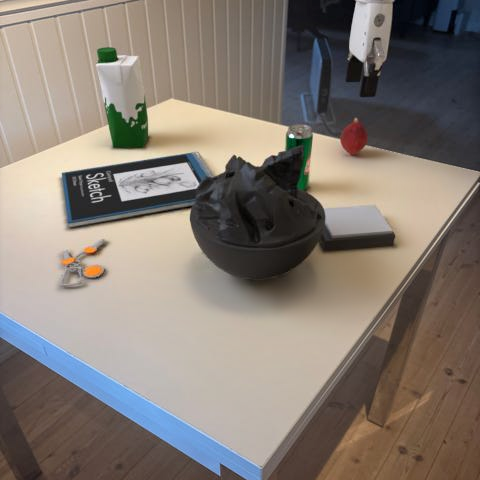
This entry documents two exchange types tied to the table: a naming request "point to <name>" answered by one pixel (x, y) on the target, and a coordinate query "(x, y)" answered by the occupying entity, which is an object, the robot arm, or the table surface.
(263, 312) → the table surface
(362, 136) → the onion
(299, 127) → the soda can
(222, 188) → the coal bowl
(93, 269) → the key chain
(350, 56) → the robot arm
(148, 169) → the sketchbook
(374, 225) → the scale
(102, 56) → the milk carton
